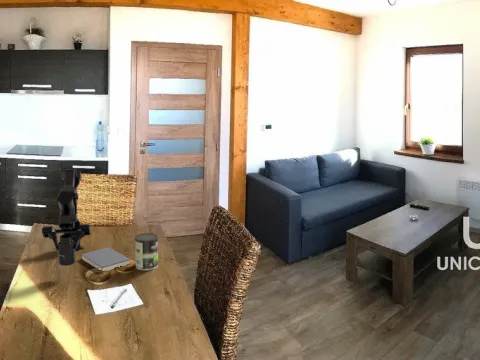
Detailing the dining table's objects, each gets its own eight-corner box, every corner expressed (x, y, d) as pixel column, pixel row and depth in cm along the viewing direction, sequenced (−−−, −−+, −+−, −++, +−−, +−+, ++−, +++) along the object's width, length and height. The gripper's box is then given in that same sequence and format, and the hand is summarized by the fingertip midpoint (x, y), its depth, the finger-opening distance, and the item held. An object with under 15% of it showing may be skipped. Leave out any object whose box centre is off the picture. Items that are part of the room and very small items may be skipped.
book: (81, 260, 197) (81, 254, 197) (108, 253, 207) (108, 247, 207) (102, 273, 184) (102, 267, 183) (130, 265, 194) (130, 259, 193)
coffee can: (161, 263, 196) (161, 234, 193) (152, 271, 186) (152, 241, 183) (141, 260, 198) (140, 232, 195) (131, 269, 188) (130, 239, 185)
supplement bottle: (57, 266, 172) (55, 239, 169) (59, 260, 178) (57, 233, 176) (75, 265, 174) (73, 238, 171) (76, 259, 180) (75, 232, 178)
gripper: (40, 207, 172) (38, 242, 164) (89, 205, 178) (88, 239, 170) (44, 220, 181) (42, 254, 173) (90, 218, 187) (90, 250, 179)
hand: (66, 249), depth 173 cm, fingers closed on supplement bottle, 7 cm apart
